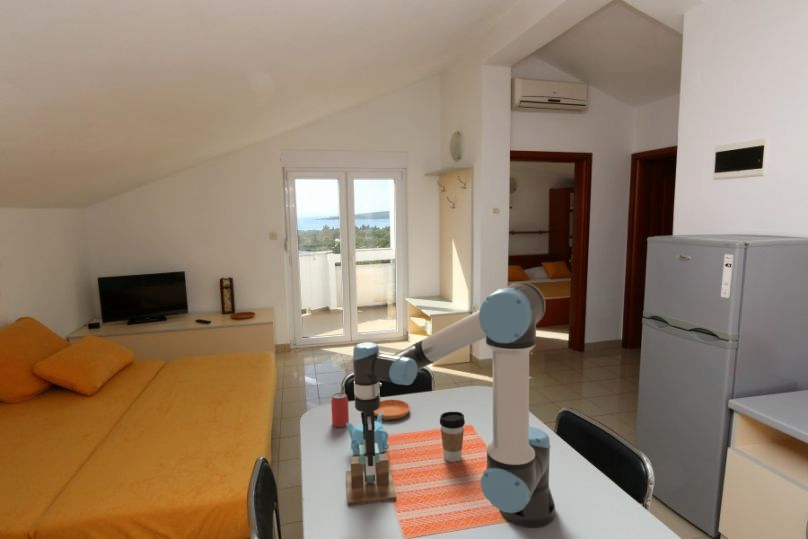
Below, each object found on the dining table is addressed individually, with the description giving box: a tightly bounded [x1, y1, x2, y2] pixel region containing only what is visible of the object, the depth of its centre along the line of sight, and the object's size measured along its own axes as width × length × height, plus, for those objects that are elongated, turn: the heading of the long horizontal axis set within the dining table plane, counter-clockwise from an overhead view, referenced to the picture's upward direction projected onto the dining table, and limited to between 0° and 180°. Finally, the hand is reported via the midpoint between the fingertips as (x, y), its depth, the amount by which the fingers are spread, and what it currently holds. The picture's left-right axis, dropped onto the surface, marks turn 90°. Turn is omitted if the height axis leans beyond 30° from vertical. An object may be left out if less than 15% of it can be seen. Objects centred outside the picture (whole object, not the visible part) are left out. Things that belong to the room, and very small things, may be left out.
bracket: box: [345, 453, 398, 506], centre depth 136 cm, size 16×14×9 cm
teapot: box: [346, 412, 390, 457], centre depth 156 cm, size 15×14×11 cm
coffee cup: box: [439, 411, 466, 463], centre depth 151 cm, size 8×8×15 cm
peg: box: [359, 443, 379, 483], centre depth 136 cm, size 6×6×10 cm
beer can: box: [330, 392, 350, 428], centre depth 177 cm, size 7×7×12 cm
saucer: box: [374, 399, 411, 421], centre depth 187 cm, size 16×16×3 cm
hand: (369, 467), depth 136 cm, fingers open, 7 cm apart
